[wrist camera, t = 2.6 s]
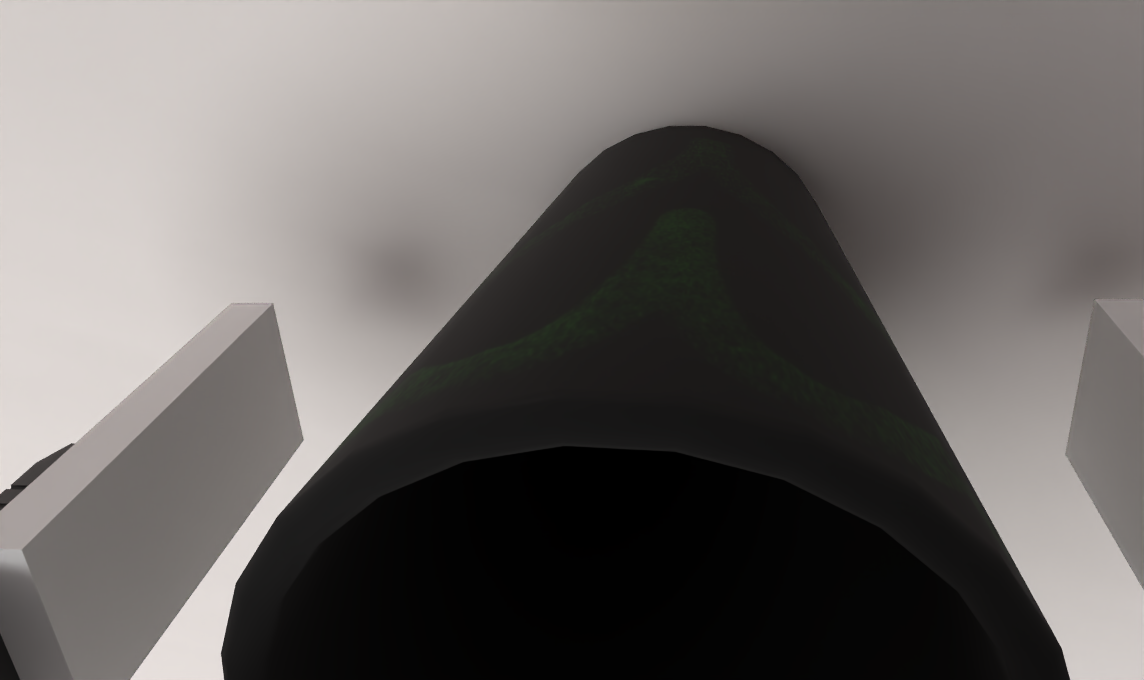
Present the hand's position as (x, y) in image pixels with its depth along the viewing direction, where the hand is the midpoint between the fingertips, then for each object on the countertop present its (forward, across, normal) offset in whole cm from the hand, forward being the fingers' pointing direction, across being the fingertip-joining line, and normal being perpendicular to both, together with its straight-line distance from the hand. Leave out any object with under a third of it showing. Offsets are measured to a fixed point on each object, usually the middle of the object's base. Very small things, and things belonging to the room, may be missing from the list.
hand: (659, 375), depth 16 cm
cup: (+4, 0, 0) cm, 4 cm away
